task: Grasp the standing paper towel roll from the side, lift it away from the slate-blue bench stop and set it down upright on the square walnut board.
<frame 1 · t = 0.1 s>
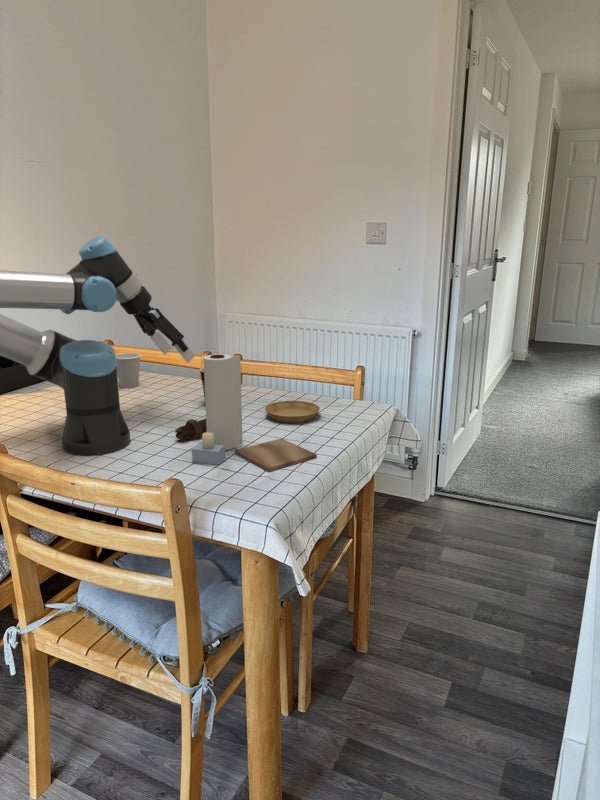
hand: (179, 355, 159), 15 cm above the table, tool tilted 35°, fingers open, 13 cm apart
coffee mug: (217, 402, 170), on the table
plant saucer: (292, 417, 157), on the table
dark brown knobby rod: (203, 435, 144), on the table
bench stop: (209, 460, 127), on the table
dixie cup: (129, 386, 187), on the table
paper towel roll: (223, 448, 135), on the table
board: (275, 455, 130), on the table
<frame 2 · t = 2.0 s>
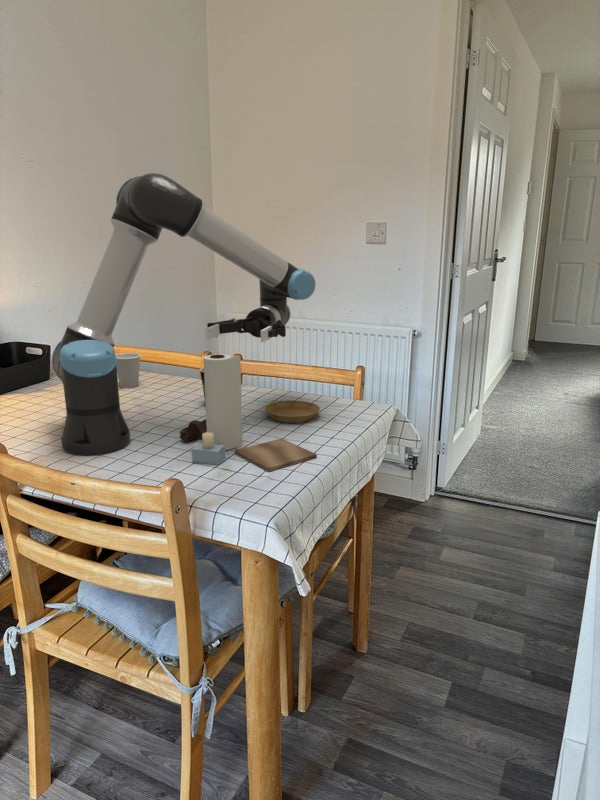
hand: (234, 335, 137), 24 cm above the table, tool horizontal, fingers open, 13 cm apart
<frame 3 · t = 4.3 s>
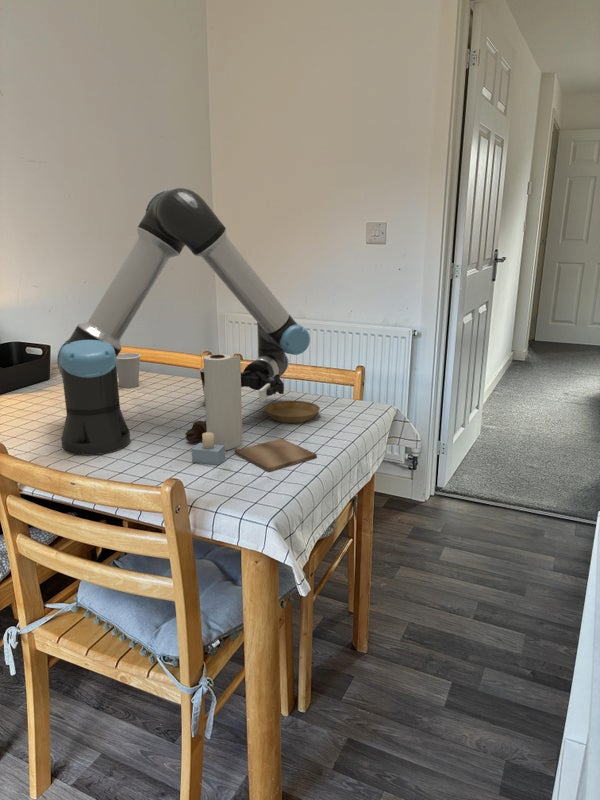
hand: (232, 394, 136), 11 cm above the table, tool horizontal, fingers open, 13 cm apart
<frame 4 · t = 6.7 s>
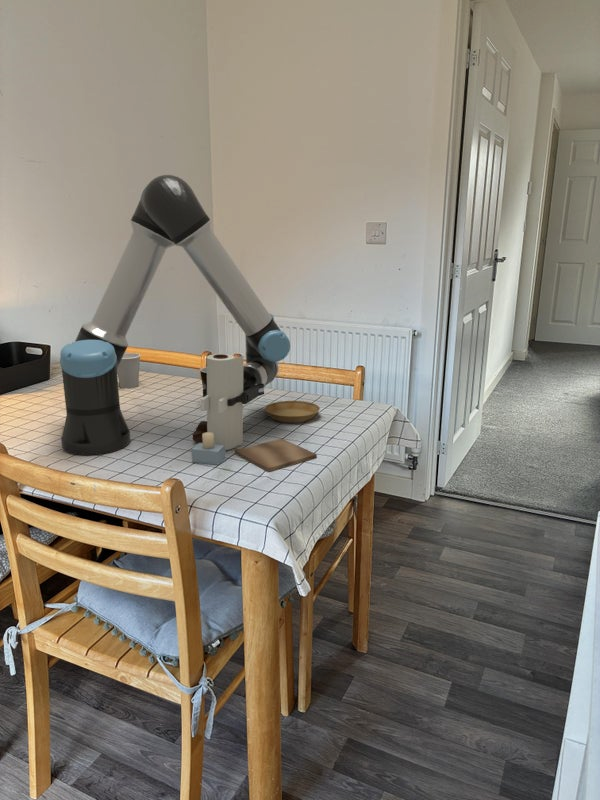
hand: (211, 406, 126), 12 cm above the table, tool horizontal, fingers closed on paper towel roll, 3 cm apart
paper towel roll: (222, 447, 135), on the table, touching gripper
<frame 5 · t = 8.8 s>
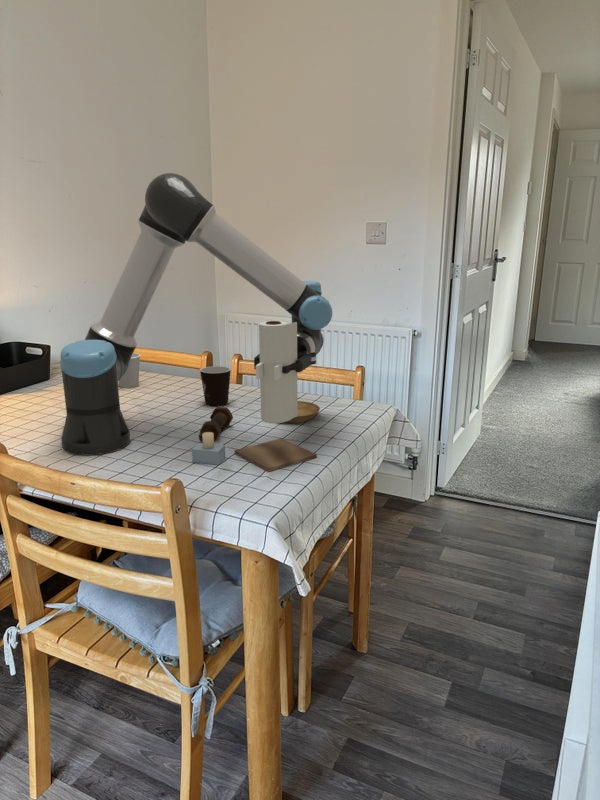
hand: (266, 372, 119), 20 cm above the table, tool horizontal, fingers closed on paper towel roll, 3 cm apart
paper towel roll: (277, 420, 128), point 8 cm above the table, touching gripper
when the fingers open (13 cm above the table, at t = 10.6 s): paper towel roll stays where it is, resting on board.
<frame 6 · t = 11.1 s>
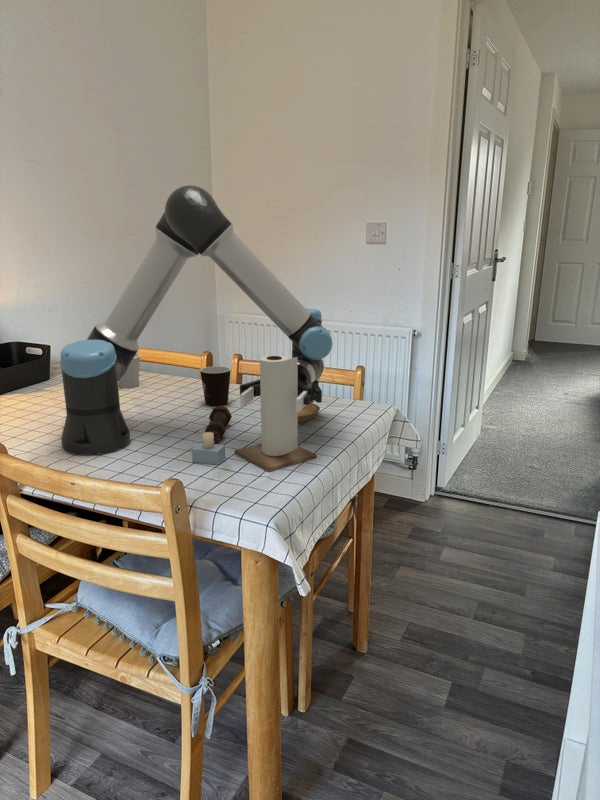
hand: (269, 403, 122), 13 cm above the table, tool horizontal, fingers open, 11 cm apart
paper towel roll: (277, 453, 129), point 1 cm above the table, touching board
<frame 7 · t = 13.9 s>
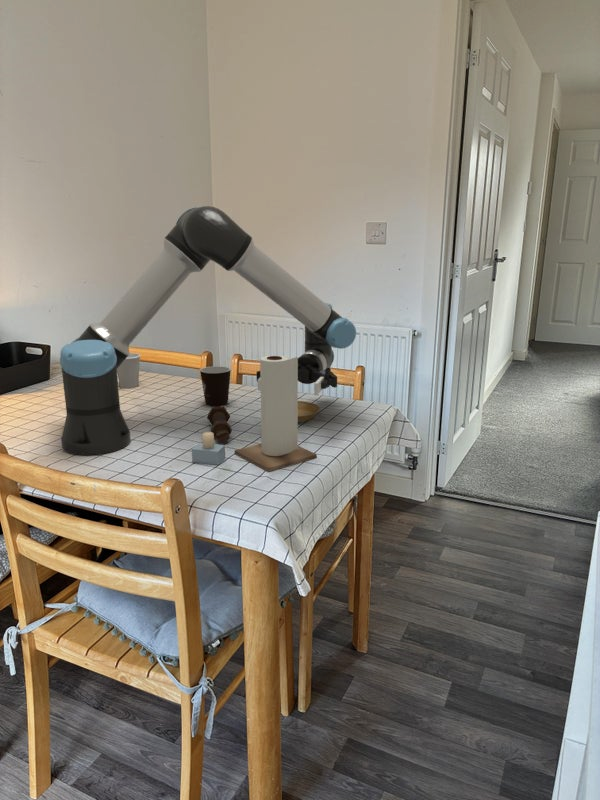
hand: (287, 387, 135), 13 cm above the table, tool horizontal, fingers open, 13 cm apart
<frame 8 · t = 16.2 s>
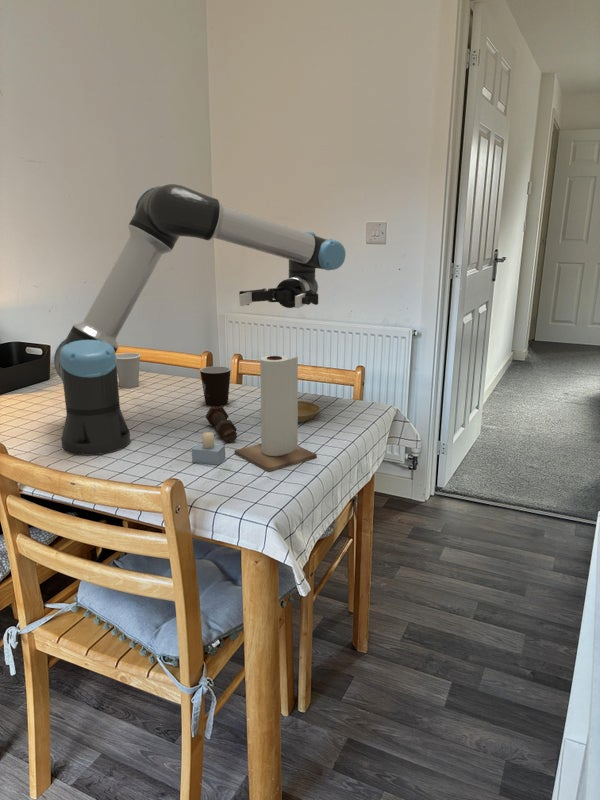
hand: (268, 301, 137), 32 cm above the table, tool horizontal, fingers open, 13 cm apart
at the end: paper towel roll 0.6 cm from the board (horizontally); paper towel roll tilted 0°; the gripper is holding nothing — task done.
